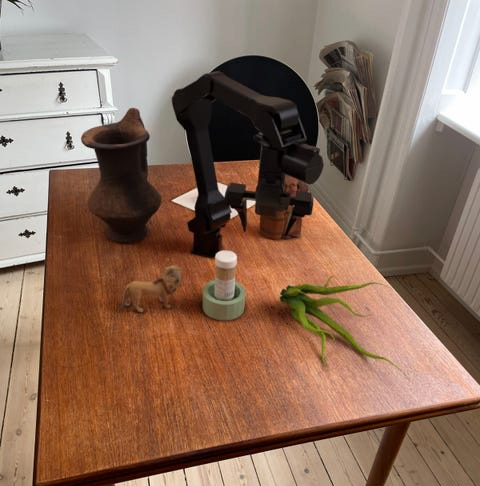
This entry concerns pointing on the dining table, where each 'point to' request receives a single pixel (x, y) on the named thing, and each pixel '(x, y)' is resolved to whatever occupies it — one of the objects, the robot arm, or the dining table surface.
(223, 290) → the sprinkles bottle
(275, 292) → the dining table surface
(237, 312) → the jar
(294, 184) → the wooden figurine
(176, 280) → the lion figurine
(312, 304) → the decorative plant
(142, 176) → the jug
